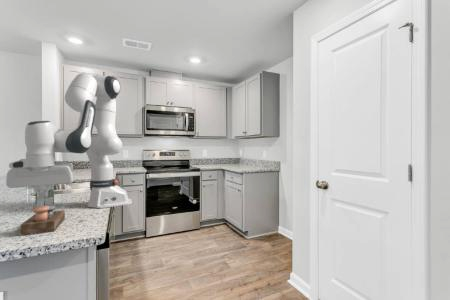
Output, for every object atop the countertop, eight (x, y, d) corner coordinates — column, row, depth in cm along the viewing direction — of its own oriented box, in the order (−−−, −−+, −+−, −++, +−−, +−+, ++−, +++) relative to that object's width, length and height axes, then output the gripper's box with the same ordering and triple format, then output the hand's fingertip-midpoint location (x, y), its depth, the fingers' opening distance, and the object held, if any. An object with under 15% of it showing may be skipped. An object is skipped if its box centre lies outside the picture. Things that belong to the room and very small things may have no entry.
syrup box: (45, 205, 122) (45, 179, 122) (54, 205, 121) (54, 179, 120) (35, 208, 116) (35, 180, 116) (44, 208, 115) (43, 181, 115)
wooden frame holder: (64, 219, 98) (64, 210, 98) (54, 231, 84) (54, 221, 84) (36, 222, 94) (36, 212, 94) (20, 235, 80) (20, 224, 80)
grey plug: (56, 219, 96) (56, 205, 96) (53, 222, 91) (53, 207, 91) (43, 220, 94) (43, 206, 94) (39, 224, 89) (38, 209, 89)
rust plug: (51, 220, 88) (51, 205, 88) (47, 224, 84) (47, 208, 84) (36, 222, 86) (36, 206, 86) (31, 226, 82) (31, 209, 82)
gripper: (74, 160, 92) (75, 192, 93) (11, 162, 84) (13, 197, 84) (71, 161, 87) (72, 195, 87) (2, 164, 78) (4, 202, 79)
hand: (42, 196), depth 86 cm, fingers closed
